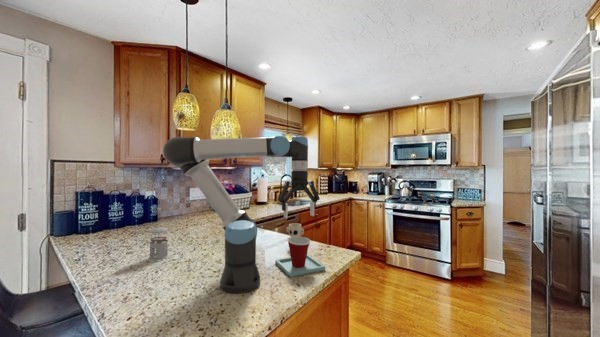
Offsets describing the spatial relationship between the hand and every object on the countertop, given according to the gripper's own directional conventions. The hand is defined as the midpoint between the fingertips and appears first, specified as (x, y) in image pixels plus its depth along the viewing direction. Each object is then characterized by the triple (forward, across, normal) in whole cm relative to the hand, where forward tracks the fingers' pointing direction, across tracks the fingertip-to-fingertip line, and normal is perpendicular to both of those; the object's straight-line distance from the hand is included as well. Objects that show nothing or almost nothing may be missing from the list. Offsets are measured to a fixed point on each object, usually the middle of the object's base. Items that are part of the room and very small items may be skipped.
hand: (299, 216), depth 111 cm
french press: (+23, -59, +42) cm, 76 cm away
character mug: (+23, +10, +26) cm, 36 cm away
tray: (+23, 0, 0) cm, 23 cm away
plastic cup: (+22, 0, 0) cm, 23 cm away
